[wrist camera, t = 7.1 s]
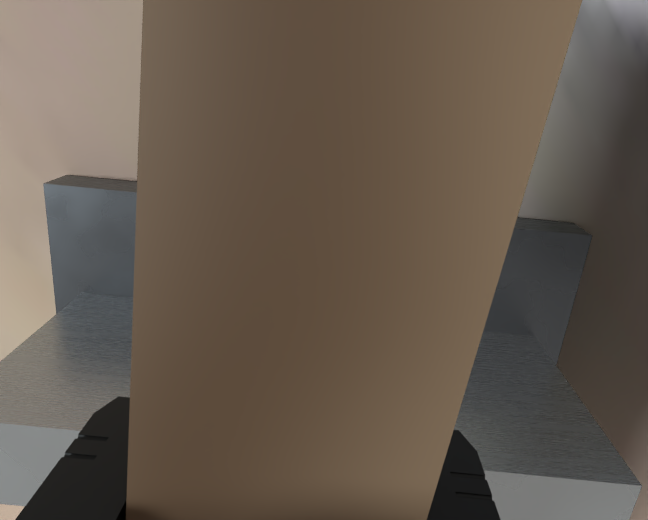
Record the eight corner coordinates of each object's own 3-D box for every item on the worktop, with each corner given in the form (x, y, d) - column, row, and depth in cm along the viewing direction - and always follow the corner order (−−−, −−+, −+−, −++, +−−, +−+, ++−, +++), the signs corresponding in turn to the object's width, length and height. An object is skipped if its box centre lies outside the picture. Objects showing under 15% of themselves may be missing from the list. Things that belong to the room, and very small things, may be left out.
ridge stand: (573, 223, 18) (749, 341, 10) (513, 452, 22) (609, 673, 14) (66, 174, 18) (-147, 254, 10) (86, 410, 22) (-63, 605, 14)
